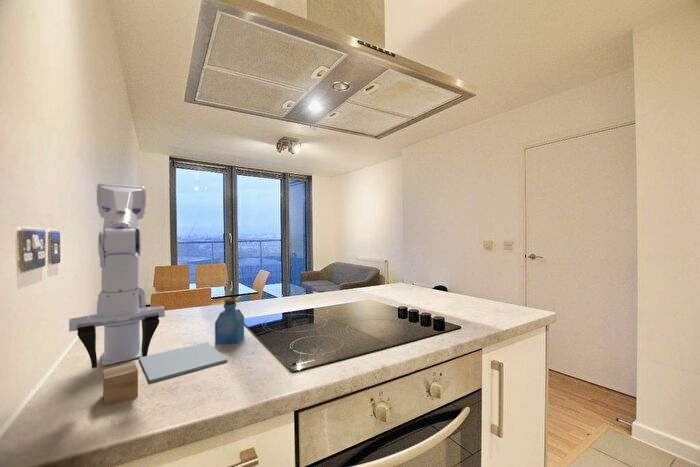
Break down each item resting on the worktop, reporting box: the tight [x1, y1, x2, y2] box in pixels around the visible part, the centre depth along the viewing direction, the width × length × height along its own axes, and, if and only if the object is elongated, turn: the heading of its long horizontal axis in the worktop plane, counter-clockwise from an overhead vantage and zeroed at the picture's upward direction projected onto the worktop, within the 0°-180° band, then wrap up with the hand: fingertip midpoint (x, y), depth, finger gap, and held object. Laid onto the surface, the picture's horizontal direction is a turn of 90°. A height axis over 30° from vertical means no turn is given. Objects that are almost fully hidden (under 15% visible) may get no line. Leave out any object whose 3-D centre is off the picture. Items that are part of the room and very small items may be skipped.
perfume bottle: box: [214, 298, 245, 345], centre depth 89 cm, size 6×6×12 cm
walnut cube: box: [102, 362, 139, 407], centre depth 58 cm, size 5×5×5 cm
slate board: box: [138, 341, 228, 384], centre depth 74 cm, size 16×16×1 cm
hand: (120, 360), depth 58 cm, fingers open, 7 cm apart
